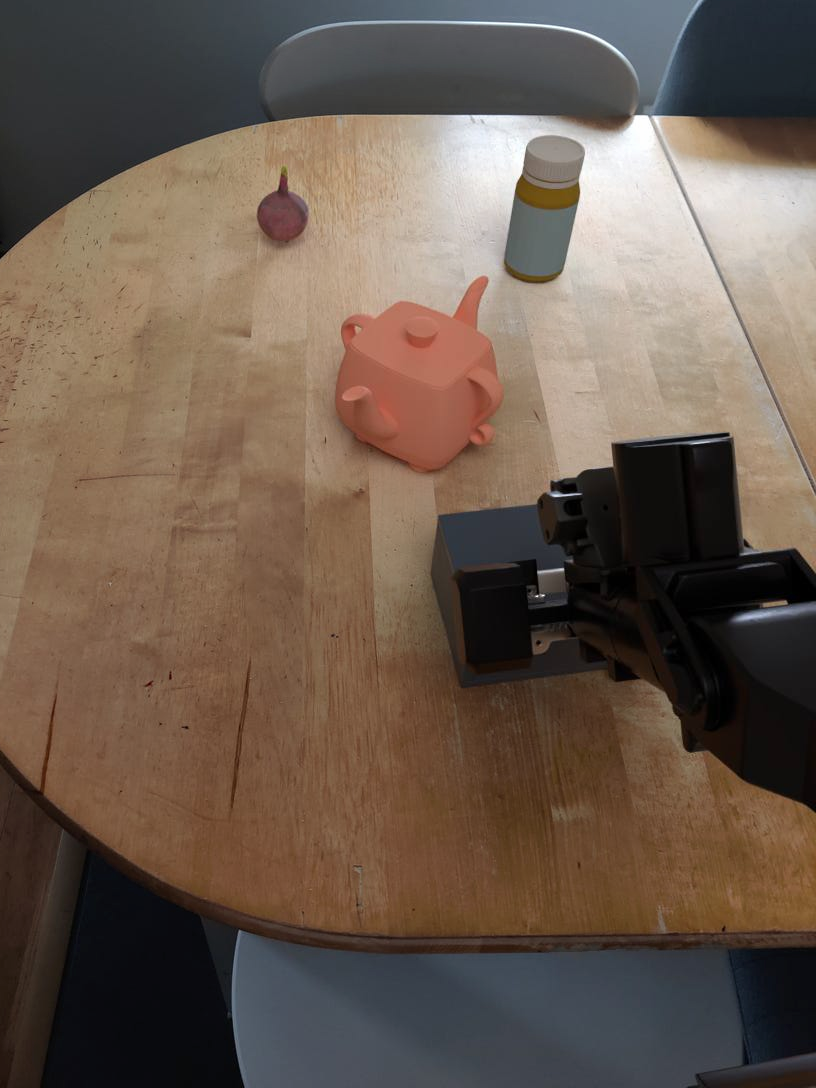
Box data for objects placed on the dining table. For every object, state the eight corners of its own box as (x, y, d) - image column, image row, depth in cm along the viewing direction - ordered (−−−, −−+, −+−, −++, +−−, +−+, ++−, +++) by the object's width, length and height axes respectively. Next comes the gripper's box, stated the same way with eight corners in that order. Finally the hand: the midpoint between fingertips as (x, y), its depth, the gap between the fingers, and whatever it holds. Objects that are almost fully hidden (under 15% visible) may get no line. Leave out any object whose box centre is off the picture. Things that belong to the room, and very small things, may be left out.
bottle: (501, 282, 102) (521, 161, 92) (504, 248, 107) (523, 130, 96) (563, 288, 102) (590, 167, 91) (562, 254, 106) (588, 135, 96)
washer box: (634, 665, 67) (658, 615, 63) (460, 688, 66) (471, 639, 61) (587, 555, 75) (605, 503, 70) (430, 573, 73) (437, 521, 69)
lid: (662, 624, 62) (682, 584, 59) (473, 648, 61) (482, 608, 57) (605, 502, 70) (619, 460, 66) (437, 521, 69) (442, 479, 65)
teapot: (341, 496, 79) (342, 392, 70) (329, 375, 91) (329, 271, 82) (506, 488, 80) (528, 383, 71) (473, 368, 92) (489, 265, 83)
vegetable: (308, 257, 106) (306, 181, 99) (256, 257, 106) (251, 181, 99) (310, 230, 110) (308, 155, 103) (260, 229, 110) (255, 154, 103)
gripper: (813, 459, 48) (674, 455, 63) (476, 496, 46) (417, 482, 61) (831, 664, 48) (688, 609, 63) (497, 709, 46) (433, 641, 62)
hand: (558, 582), depth 62 cm, fingers closed on lid, 6 cm apart
